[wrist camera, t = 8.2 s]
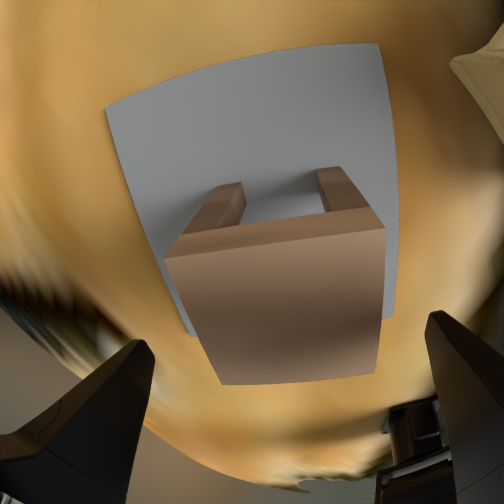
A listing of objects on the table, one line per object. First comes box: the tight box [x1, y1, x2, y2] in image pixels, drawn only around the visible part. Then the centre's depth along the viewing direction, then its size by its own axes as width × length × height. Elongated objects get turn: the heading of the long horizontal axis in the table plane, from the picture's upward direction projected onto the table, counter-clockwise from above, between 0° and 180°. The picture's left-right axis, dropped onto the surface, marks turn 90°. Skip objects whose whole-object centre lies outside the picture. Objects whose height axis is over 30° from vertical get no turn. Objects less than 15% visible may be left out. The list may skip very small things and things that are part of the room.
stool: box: [164, 166, 386, 385], centre depth 12 cm, size 6×6×7 cm
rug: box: [105, 43, 399, 337], centre depth 15 cm, size 16×14×1 cm
